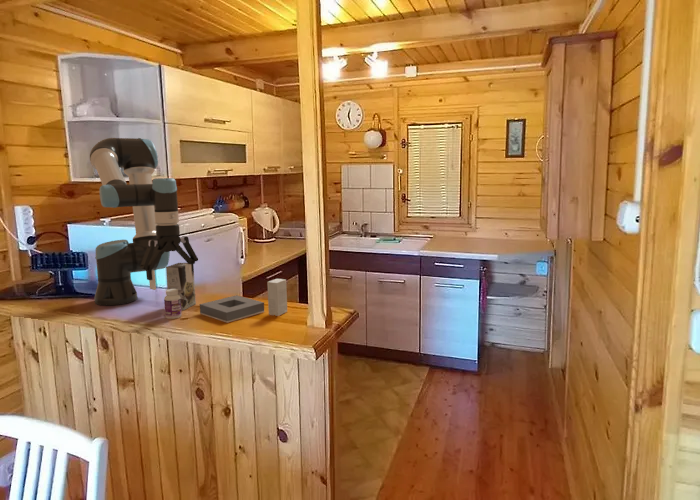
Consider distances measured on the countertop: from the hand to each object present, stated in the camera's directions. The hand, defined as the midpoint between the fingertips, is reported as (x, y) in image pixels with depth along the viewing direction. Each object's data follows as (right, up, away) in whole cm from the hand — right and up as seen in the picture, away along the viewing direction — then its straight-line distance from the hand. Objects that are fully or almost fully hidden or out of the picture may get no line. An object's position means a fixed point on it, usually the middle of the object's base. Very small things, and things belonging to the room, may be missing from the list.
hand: (171, 285), depth 169 cm
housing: (+19, -10, +6) cm, 23 cm away
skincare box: (+36, -10, +6) cm, 38 cm away
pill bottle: (0, -11, +2) cm, 12 cm away
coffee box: (-1, -9, +15) cm, 17 cm away
